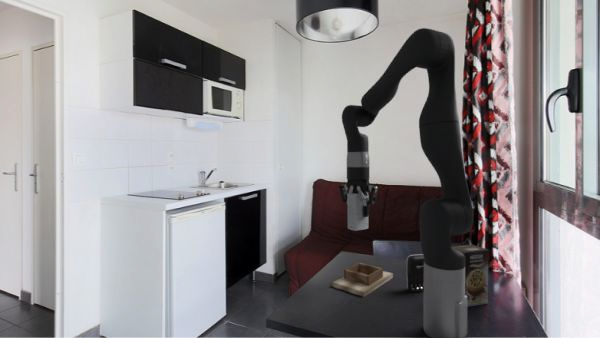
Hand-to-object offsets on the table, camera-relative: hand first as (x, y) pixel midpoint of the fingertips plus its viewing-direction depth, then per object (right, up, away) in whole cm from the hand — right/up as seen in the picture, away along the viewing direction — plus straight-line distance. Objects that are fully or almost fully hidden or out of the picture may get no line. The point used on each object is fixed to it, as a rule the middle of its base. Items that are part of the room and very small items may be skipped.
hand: (358, 215), depth 108 cm
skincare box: (0, -5, 0) cm, 5 cm away
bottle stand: (+2, -23, +2) cm, 23 cm away
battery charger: (+18, -24, -5) cm, 30 cm away
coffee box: (+30, -24, -13) cm, 41 cm away
